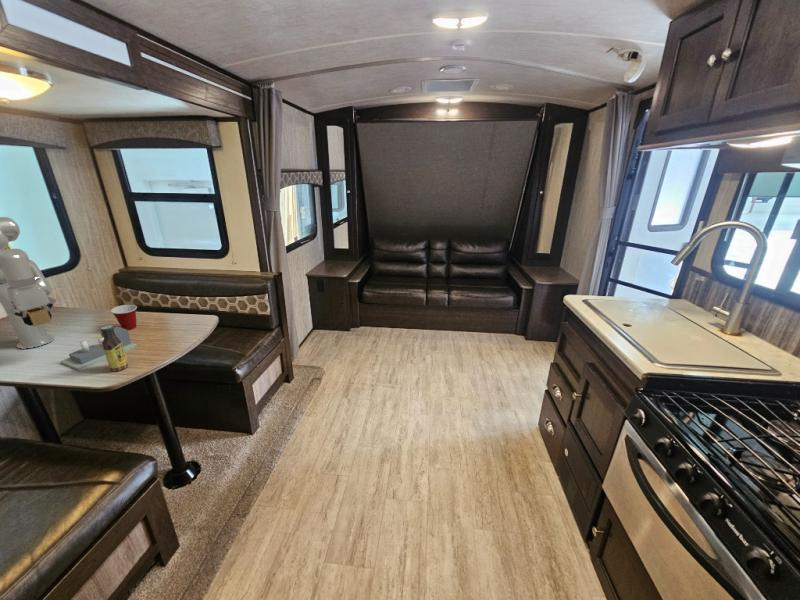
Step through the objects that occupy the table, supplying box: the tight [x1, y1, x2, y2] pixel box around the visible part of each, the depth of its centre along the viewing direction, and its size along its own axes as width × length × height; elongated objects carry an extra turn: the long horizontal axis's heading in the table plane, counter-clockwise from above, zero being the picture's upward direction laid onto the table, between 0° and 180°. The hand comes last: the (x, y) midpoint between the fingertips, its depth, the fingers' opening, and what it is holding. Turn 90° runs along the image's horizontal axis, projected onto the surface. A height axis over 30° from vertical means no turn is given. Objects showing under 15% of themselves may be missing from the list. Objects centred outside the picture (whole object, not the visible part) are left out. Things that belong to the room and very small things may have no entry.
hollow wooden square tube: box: [27, 307, 53, 327], centre depth 139 cm, size 6×6×6 cm
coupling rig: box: [60, 326, 138, 372], centre depth 151 cm, size 14×23×9 cm, turn 157°
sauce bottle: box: [100, 325, 129, 372], centre depth 139 cm, size 7×6×20 cm
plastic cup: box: [110, 304, 138, 331], centre depth 175 cm, size 11×11×12 cm
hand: (39, 321), depth 140 cm, fingers closed on hollow wooden square tube, 5 cm apart
